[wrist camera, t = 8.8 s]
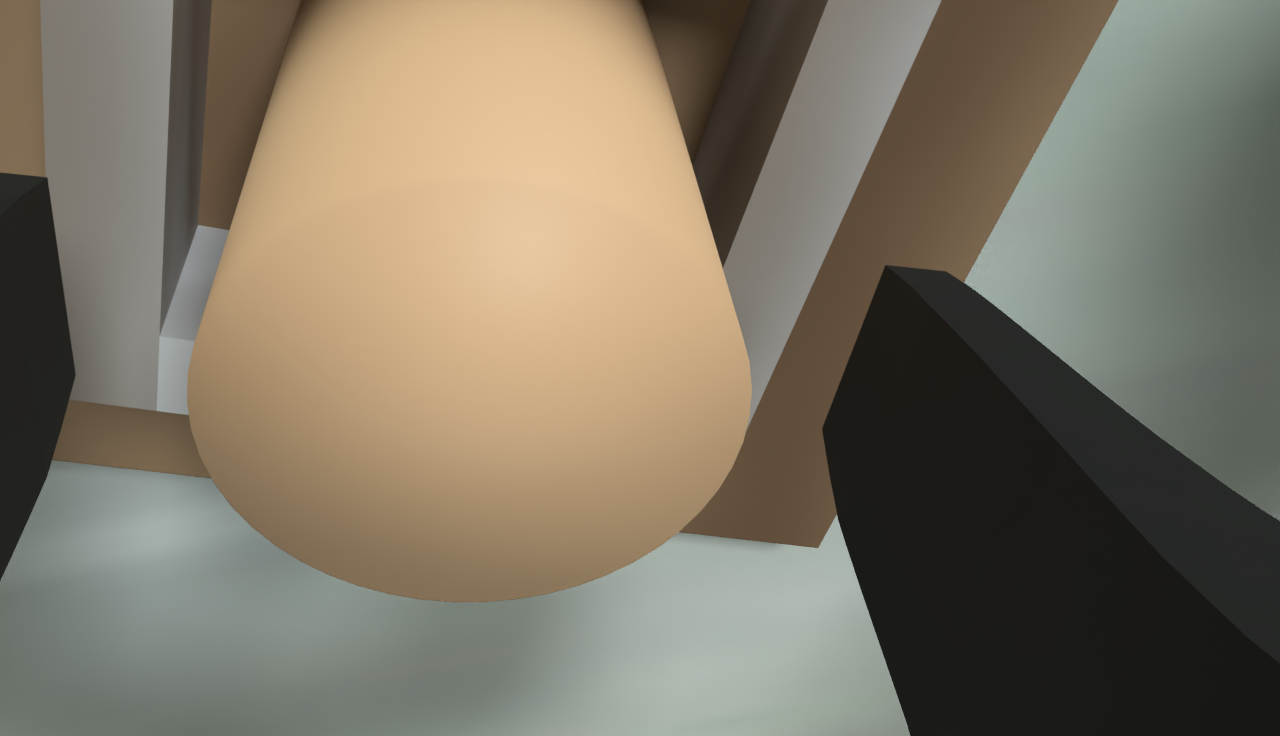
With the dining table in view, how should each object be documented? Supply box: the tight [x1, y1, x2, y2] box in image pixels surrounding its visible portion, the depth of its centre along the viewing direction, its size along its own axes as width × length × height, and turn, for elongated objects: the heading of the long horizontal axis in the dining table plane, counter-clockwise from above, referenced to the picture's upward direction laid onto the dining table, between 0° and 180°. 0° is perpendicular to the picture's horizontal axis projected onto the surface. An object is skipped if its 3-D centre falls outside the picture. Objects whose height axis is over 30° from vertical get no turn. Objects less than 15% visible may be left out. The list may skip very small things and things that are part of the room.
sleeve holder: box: [0, 0, 1118, 548], centre depth 14 cm, size 16×16×4 cm
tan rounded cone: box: [187, 0, 752, 602], centre depth 12 cm, size 4×4×7 cm
